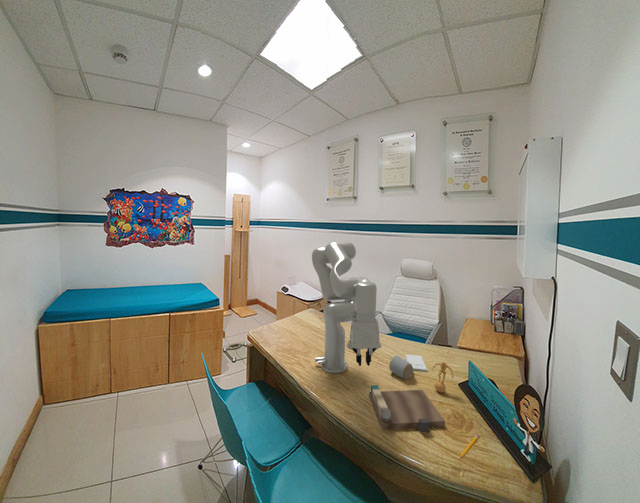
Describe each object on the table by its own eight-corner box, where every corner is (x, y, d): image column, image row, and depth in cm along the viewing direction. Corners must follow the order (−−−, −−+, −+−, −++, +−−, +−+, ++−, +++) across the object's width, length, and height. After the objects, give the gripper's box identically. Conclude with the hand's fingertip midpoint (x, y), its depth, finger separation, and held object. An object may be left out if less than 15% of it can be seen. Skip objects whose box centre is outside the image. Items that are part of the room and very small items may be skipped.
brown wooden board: (381, 429, 83) (381, 424, 83) (368, 396, 99) (369, 391, 99) (444, 426, 85) (445, 421, 85) (422, 394, 101) (422, 389, 100)
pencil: (479, 437, 81) (479, 435, 81) (460, 461, 73) (460, 459, 73) (476, 436, 81) (476, 434, 81) (457, 459, 73) (457, 457, 73)
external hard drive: (421, 358, 129) (427, 372, 116) (405, 357, 130) (408, 370, 118) (421, 355, 128) (427, 369, 116) (405, 354, 130) (409, 367, 118)
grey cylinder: (404, 382, 108) (405, 366, 107) (388, 373, 115) (389, 357, 114) (417, 374, 114) (418, 358, 114) (402, 366, 121) (403, 351, 120)
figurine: (427, 389, 104) (429, 362, 103) (432, 382, 108) (434, 356, 107) (449, 398, 98) (451, 370, 97) (453, 391, 103) (455, 364, 101)
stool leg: (392, 422, 84) (392, 414, 83) (382, 422, 83) (383, 414, 83) (377, 391, 99) (378, 384, 99) (370, 391, 99) (370, 384, 99)
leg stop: (420, 432, 82) (421, 422, 82) (418, 428, 84) (418, 419, 83) (429, 432, 82) (429, 422, 82) (426, 428, 84) (427, 418, 84)
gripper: (344, 320, 86) (343, 370, 88) (390, 319, 87) (388, 369, 89) (341, 312, 93) (340, 359, 95) (383, 311, 94) (381, 357, 96)
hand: (363, 363), depth 92 cm, fingers open, 2 cm apart
